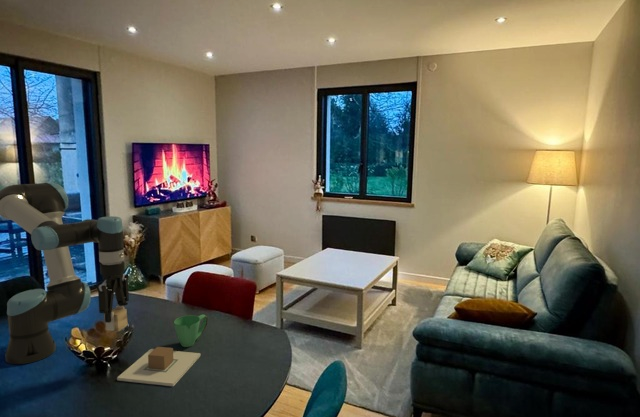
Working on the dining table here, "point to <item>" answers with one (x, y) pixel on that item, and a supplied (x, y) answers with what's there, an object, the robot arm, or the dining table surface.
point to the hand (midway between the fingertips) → (115, 326)
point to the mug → (189, 328)
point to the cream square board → (160, 367)
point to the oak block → (119, 319)
